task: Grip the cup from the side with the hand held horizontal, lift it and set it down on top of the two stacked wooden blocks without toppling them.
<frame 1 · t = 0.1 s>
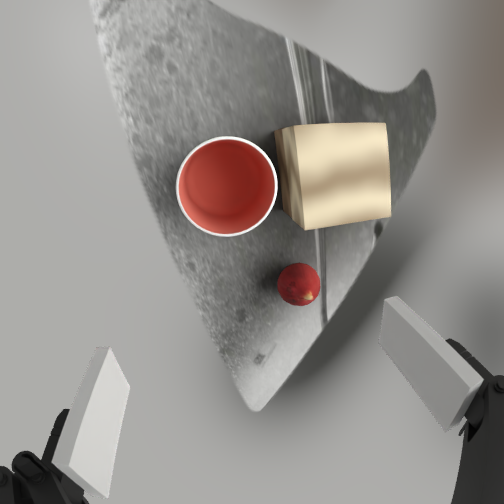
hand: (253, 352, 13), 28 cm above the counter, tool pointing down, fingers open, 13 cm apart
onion: (291, 273, 43), on the counter
block top: (330, 170, 34), point 5 cm above the counter
cup: (222, 178, 37), on the counter
block bottom: (316, 166, 38), on the counter
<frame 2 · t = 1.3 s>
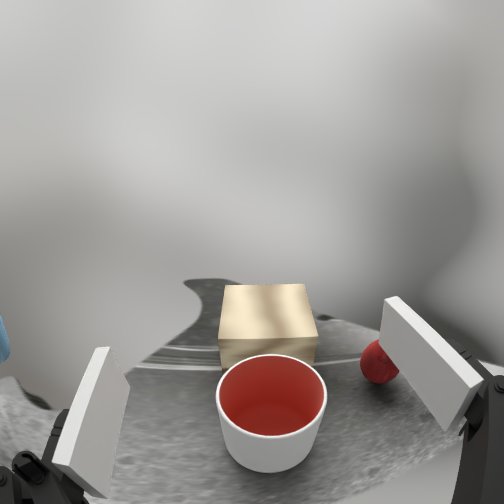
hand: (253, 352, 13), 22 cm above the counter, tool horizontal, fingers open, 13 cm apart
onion: (374, 379, 35), on the counter
block top: (266, 337, 38), point 5 cm above the counter
cup: (269, 440, 28), on the counter
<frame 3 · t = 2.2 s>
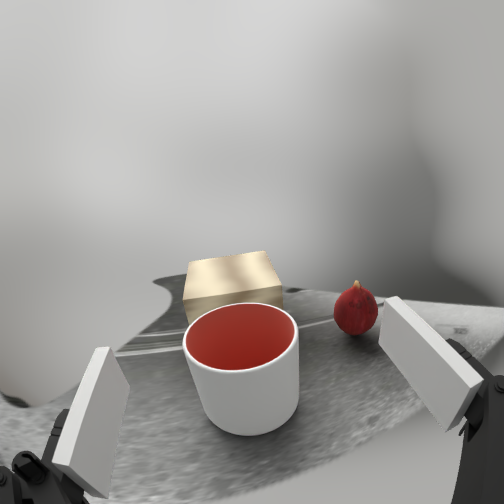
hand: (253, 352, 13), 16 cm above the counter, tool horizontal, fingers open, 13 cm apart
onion: (353, 335, 37), on the counter
block top: (234, 305, 38), point 5 cm above the counter
cup: (252, 404, 28), on the counter
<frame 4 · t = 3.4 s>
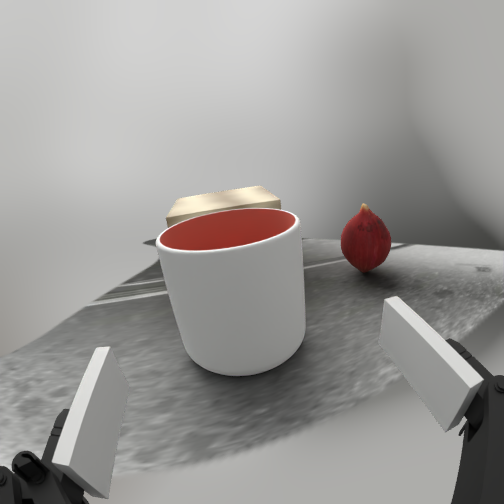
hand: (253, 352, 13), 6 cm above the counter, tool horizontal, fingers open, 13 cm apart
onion: (364, 273, 32), on the counter
block top: (227, 240, 34), point 5 cm above the counter, touching block bottom
cup: (245, 343, 24), on the counter
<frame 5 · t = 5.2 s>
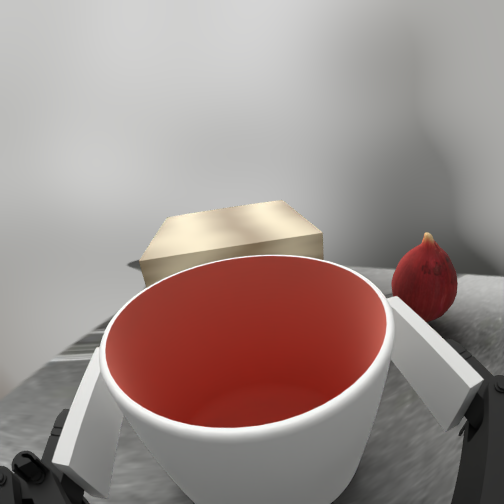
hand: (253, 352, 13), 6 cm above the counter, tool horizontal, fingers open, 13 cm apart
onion: (417, 323, 22), on the counter
block top: (235, 282, 24), point 5 cm above the counter, touching block bottom
cup: (267, 456, 13), on the counter
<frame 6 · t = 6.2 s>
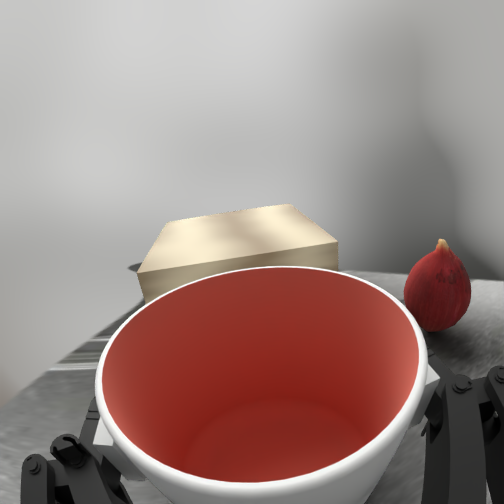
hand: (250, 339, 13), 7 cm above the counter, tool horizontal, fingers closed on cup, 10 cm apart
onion: (429, 331, 21), on the counter
block top: (241, 292, 22), point 5 cm above the counter, touching block bottom
cup: (276, 475, 12), on the counter, touching gripper
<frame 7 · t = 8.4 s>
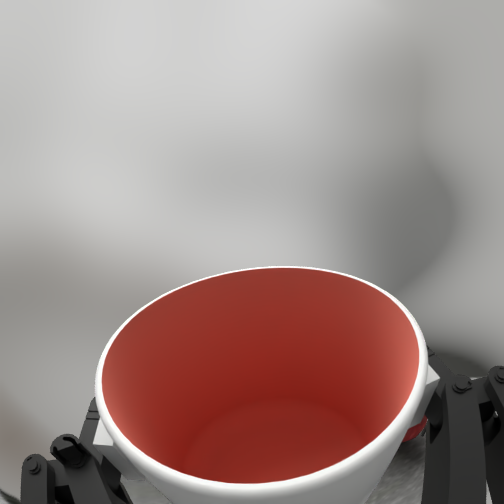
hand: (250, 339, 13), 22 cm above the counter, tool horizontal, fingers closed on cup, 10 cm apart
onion: (394, 435, 25), on the counter
cup: (276, 475, 12), point 15 cm above the counter, touching gripper
when the fingers open (18 cm above the counter, at t = 10.8 s): cup drops 2 cm, resting on block top.
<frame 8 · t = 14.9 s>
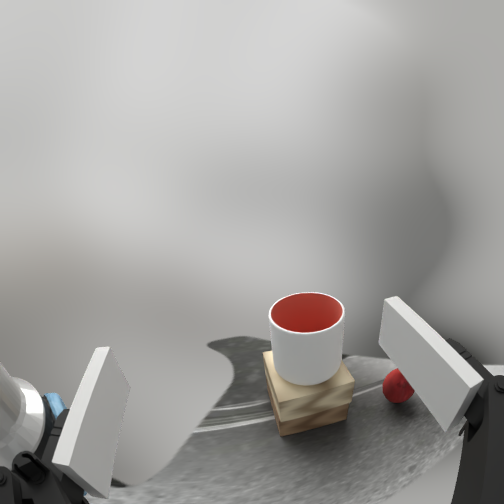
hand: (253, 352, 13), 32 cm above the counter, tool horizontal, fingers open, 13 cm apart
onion: (394, 400, 40), on the counter
block top: (306, 388, 42), point 5 cm above the counter, touching block bottom, cup
cup: (307, 366, 40), point 9 cm above the counter, touching block top
block bottom: (305, 405, 44), on the counter, touching block top
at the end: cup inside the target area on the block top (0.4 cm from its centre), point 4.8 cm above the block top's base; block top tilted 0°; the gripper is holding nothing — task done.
